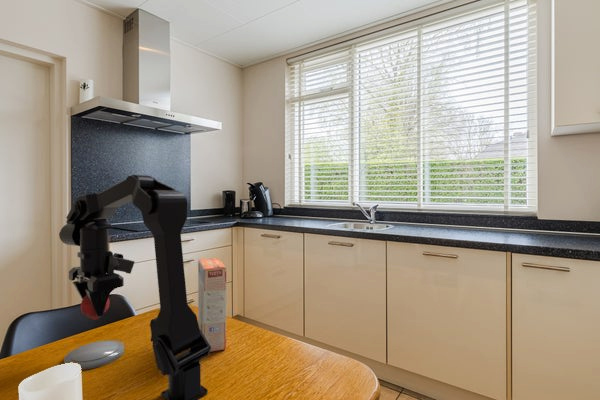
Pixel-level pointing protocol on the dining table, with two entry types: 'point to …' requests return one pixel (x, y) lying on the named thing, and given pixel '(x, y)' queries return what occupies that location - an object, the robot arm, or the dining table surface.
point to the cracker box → (212, 302)
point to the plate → (95, 354)
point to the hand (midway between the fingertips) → (95, 312)
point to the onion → (91, 308)
